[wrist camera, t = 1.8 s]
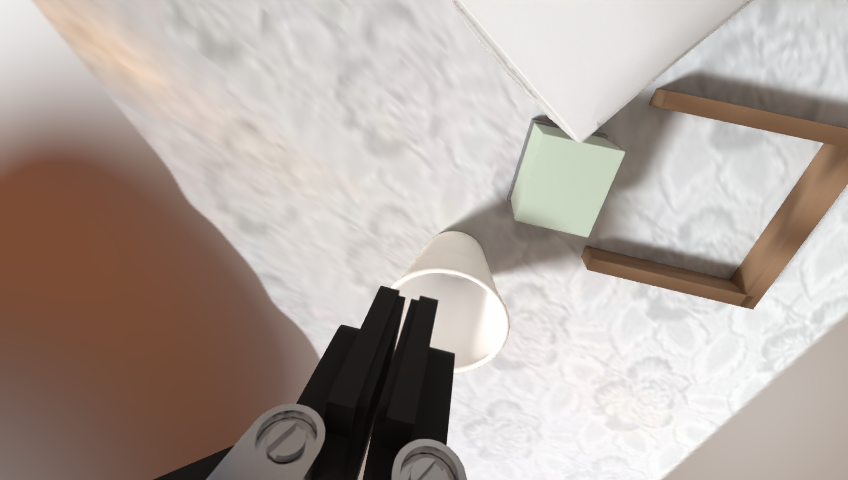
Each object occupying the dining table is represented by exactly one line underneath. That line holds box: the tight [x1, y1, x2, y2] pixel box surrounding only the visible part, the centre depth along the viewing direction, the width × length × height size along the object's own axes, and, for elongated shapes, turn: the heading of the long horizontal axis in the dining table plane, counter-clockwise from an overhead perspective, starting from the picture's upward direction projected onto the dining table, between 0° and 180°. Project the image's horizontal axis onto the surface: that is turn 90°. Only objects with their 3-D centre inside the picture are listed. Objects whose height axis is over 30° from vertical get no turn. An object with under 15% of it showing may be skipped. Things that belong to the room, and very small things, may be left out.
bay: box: [581, 89, 848, 309], centre depth 31 cm, size 15×15×2 cm
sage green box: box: [508, 119, 625, 237], centre depth 30 cm, size 7×6×6 cm
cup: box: [390, 231, 510, 373], centre depth 33 cm, size 10×10×11 cm
